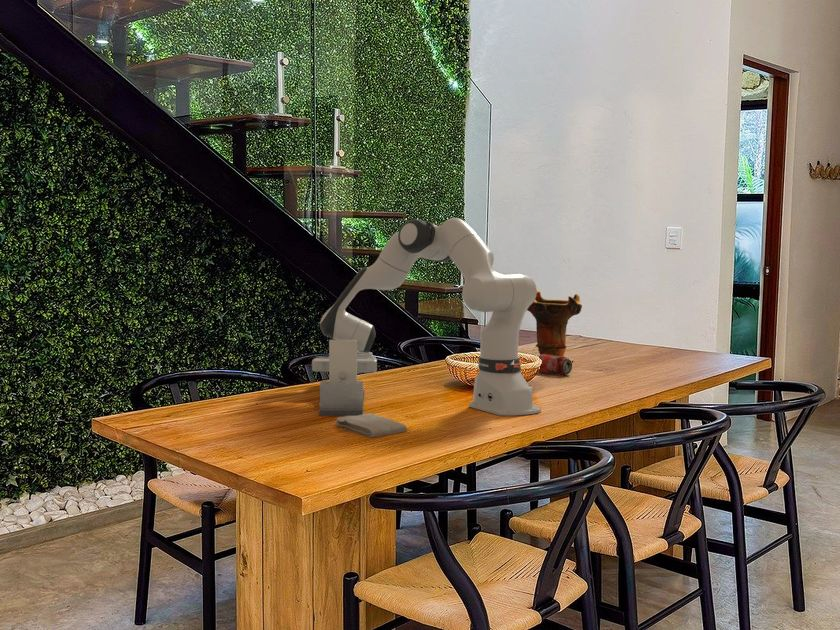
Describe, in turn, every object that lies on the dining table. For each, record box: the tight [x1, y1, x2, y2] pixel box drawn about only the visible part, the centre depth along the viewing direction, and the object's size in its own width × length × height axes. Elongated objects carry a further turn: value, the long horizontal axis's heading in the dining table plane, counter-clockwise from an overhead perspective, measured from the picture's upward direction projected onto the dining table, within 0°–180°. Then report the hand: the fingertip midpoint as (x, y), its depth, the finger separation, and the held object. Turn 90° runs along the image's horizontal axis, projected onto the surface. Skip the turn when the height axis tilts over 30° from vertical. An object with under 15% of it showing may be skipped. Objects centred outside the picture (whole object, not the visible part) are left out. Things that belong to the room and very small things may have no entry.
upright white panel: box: [328, 339, 358, 381], centre depth 262 cm, size 8×10×17 cm
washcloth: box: [334, 412, 408, 438], centre depth 232 cm, size 12×18×3 cm, turn 39°
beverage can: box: [538, 354, 573, 376], centre depth 320 cm, size 7×12×7 cm, turn 45°
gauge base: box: [318, 380, 365, 417], centre depth 262 cm, size 30×12×8 cm, turn 3°
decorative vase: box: [526, 289, 583, 361], centre depth 350 cm, size 21×23×28 cm
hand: (343, 368), depth 271 cm, fingers closed
